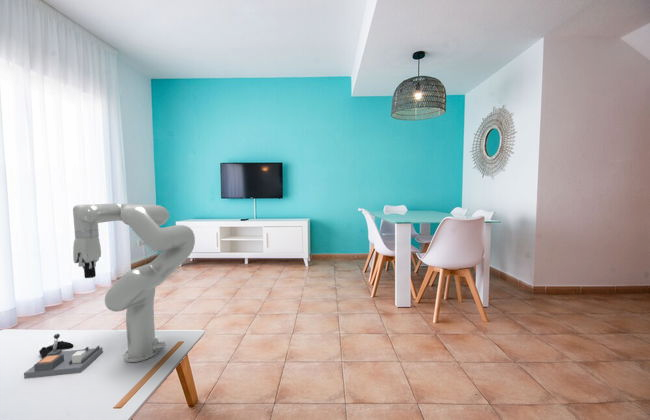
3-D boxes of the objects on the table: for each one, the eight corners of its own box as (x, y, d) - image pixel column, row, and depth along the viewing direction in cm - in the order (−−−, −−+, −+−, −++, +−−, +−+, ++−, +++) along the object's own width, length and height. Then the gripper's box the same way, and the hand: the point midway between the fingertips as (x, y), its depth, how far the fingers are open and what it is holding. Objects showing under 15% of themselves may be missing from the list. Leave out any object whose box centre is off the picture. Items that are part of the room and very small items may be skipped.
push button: (59, 359, 105) (59, 355, 105) (51, 366, 101) (50, 361, 101) (47, 360, 105) (47, 356, 105) (38, 367, 101) (38, 362, 101)
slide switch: (86, 357, 108) (86, 350, 107) (81, 362, 105) (80, 354, 105) (77, 358, 107) (77, 351, 107) (72, 363, 104) (71, 355, 104)
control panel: (102, 352, 115) (101, 341, 115) (80, 372, 102) (79, 360, 102) (53, 356, 112) (52, 346, 112) (24, 378, 99) (23, 366, 99)
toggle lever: (58, 349, 111) (61, 333, 113) (55, 350, 110) (58, 333, 111) (53, 350, 111) (56, 333, 113) (49, 351, 109) (52, 334, 111)
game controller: (48, 357, 110) (37, 346, 111) (44, 366, 111) (33, 355, 112) (75, 344, 119) (64, 334, 121) (71, 352, 120) (60, 342, 122)
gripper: (89, 231, 121) (92, 272, 123) (62, 237, 107) (66, 283, 108) (108, 231, 122) (110, 271, 124) (84, 237, 108) (88, 282, 109)
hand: (90, 277), depth 116 cm, fingers closed
